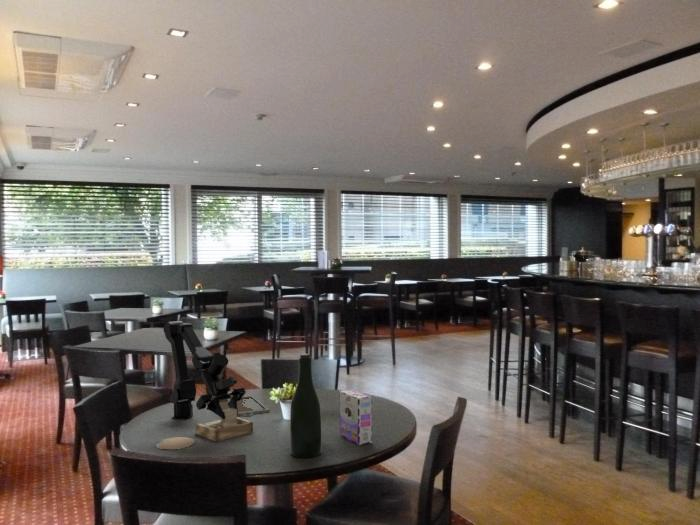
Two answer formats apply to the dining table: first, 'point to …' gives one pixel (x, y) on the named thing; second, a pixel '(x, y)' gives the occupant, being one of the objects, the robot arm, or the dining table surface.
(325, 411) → the dining table surface
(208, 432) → the frame
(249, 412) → the picture frame
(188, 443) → the cork mat
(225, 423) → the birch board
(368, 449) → the dining table surface
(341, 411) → the candy box
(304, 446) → the green wine bottle
